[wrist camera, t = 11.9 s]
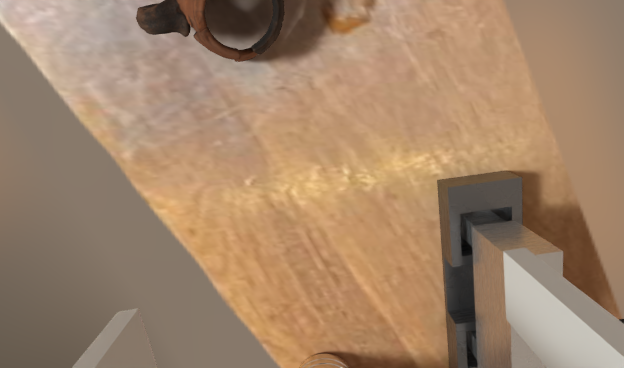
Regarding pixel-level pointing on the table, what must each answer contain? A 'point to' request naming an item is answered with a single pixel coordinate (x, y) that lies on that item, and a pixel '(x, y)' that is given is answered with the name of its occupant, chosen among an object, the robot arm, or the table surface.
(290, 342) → the table surface
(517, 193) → the rail
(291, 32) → the table surface
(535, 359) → the grey notched block
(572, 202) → the table surface
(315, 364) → the water bottle
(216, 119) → the table surface
